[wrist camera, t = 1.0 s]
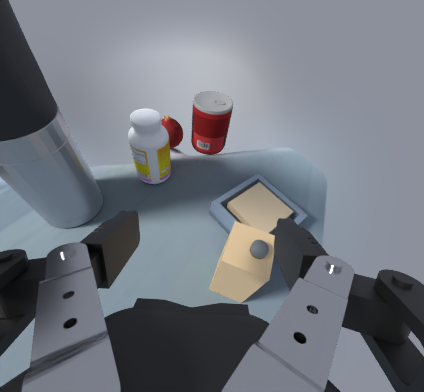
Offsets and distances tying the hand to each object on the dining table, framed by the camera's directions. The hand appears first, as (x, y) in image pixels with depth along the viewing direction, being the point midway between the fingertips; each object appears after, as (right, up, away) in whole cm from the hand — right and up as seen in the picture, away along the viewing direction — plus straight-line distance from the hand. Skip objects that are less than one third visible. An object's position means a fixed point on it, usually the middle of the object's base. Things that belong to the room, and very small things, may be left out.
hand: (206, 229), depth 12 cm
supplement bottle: (-11, +6, +31) cm, 33 cm away
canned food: (-1, +14, +38) cm, 40 cm away
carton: (+3, -11, +20) cm, 23 cm away
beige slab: (+8, -2, +26) cm, 27 cm away
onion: (-9, +13, +36) cm, 39 cm away
